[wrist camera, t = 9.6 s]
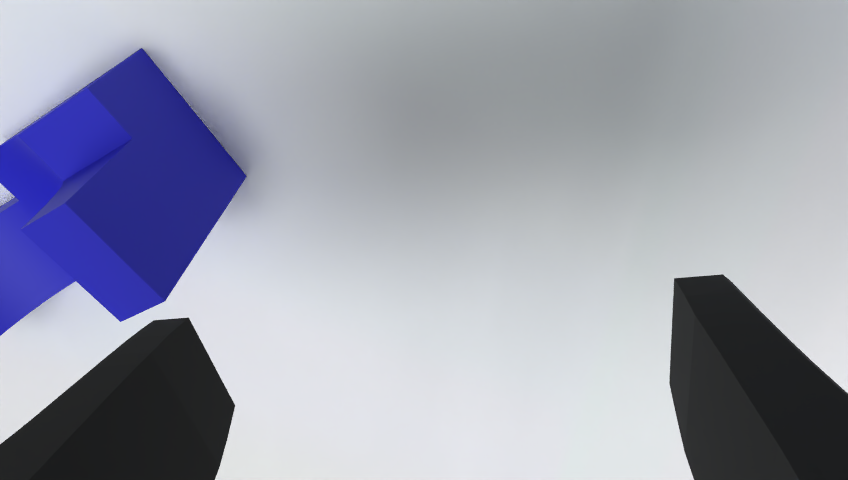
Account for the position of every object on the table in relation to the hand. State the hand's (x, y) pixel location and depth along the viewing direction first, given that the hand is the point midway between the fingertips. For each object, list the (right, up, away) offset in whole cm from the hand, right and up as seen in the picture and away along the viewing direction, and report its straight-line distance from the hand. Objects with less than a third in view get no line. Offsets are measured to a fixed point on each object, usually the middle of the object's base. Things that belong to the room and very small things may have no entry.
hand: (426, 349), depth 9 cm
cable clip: (-12, +3, +11) cm, 16 cm away
